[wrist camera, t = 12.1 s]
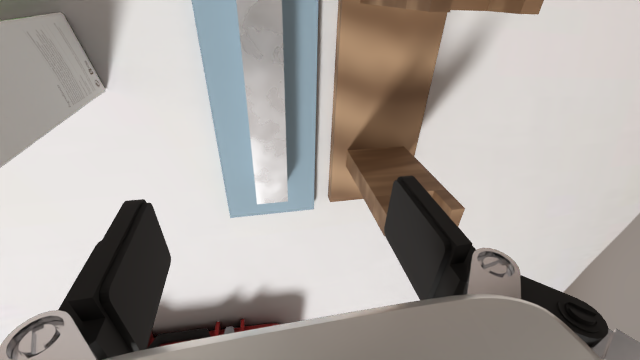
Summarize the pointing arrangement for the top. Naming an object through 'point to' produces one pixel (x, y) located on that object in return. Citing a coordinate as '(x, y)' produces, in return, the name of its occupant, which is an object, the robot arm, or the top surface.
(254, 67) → the aluminium rail
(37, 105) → the skincare box
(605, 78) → the top surface
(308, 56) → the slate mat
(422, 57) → the cradle stand
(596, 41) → the top surface
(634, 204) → the top surface
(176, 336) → the first aid kit
